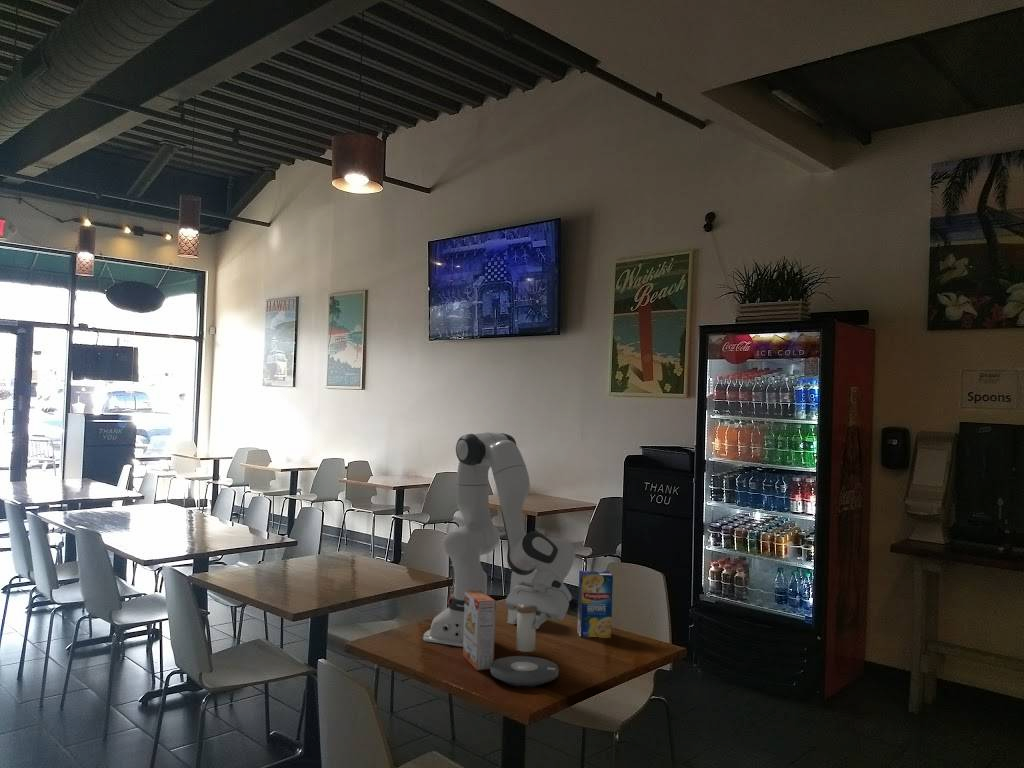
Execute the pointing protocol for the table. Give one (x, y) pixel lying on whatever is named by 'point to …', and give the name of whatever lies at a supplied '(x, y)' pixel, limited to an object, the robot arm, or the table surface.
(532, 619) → the jar
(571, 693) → the table surface
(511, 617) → the milk
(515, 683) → the lazy susan base
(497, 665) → the lazy susan
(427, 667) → the table surface
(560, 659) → the table surface
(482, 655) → the cracker box
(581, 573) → the blue cardboard box
